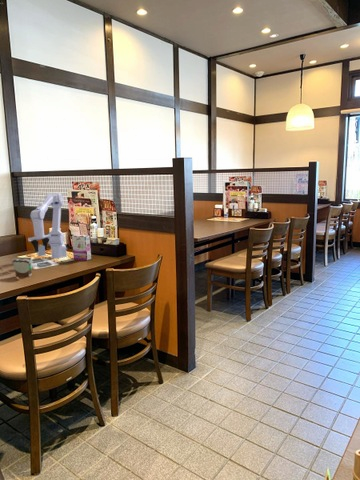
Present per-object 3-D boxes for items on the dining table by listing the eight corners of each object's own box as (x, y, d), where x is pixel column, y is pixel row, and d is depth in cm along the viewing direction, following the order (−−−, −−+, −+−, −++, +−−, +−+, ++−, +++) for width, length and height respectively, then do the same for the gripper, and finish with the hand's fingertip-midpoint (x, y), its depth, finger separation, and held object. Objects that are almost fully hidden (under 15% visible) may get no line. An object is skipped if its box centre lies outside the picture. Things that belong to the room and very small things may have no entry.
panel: (45, 259, 239) (45, 256, 238) (59, 265, 221) (59, 262, 220) (22, 263, 229) (22, 260, 229) (35, 270, 211) (34, 267, 211)
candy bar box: (91, 259, 235) (90, 235, 232) (87, 260, 231) (85, 236, 227) (78, 258, 239) (76, 234, 236) (73, 259, 235) (71, 235, 232)
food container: (39, 274, 201) (37, 257, 199) (31, 277, 196) (29, 260, 194) (21, 273, 205) (20, 256, 203) (13, 276, 200) (11, 259, 198)
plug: (44, 254, 224) (43, 243, 223) (45, 255, 221) (44, 244, 219) (37, 255, 222) (36, 244, 221) (39, 256, 219) (37, 245, 217)
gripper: (45, 227, 226) (47, 247, 229) (24, 230, 215) (26, 252, 218) (52, 228, 222) (54, 249, 225) (30, 231, 211) (33, 253, 213)
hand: (41, 250), depth 221 cm, fingers closed on plug, 5 cm apart
